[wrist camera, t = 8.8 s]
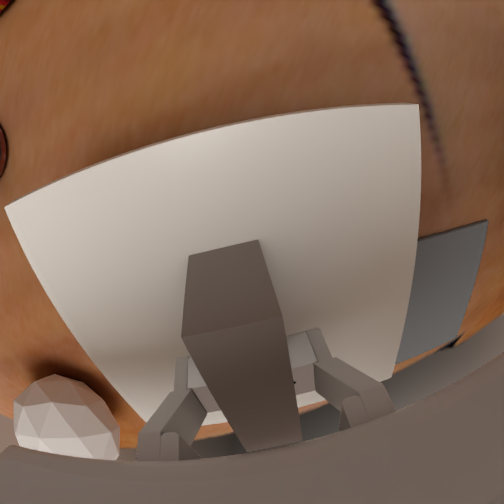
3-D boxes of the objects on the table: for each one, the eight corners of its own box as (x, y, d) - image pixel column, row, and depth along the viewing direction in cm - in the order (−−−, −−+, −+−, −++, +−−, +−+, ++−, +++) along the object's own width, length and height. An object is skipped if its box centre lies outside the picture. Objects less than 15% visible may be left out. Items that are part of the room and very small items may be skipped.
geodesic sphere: (-24, 369, 19) (1, 485, 14) (48, 365, 19) (87, 513, 13) (52, 378, 32) (72, 467, 27) (127, 370, 32) (152, 472, 27)
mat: (486, 219, 24) (488, 220, 23) (454, 335, 33) (455, 337, 33) (341, 258, 24) (343, 261, 23) (340, 380, 33) (340, 383, 32)
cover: (406, 102, 9) (500, 122, 5) (386, 368, 17) (415, 425, 13) (14, 199, 9) (-58, 259, 5) (154, 419, 17) (151, 481, 13)
